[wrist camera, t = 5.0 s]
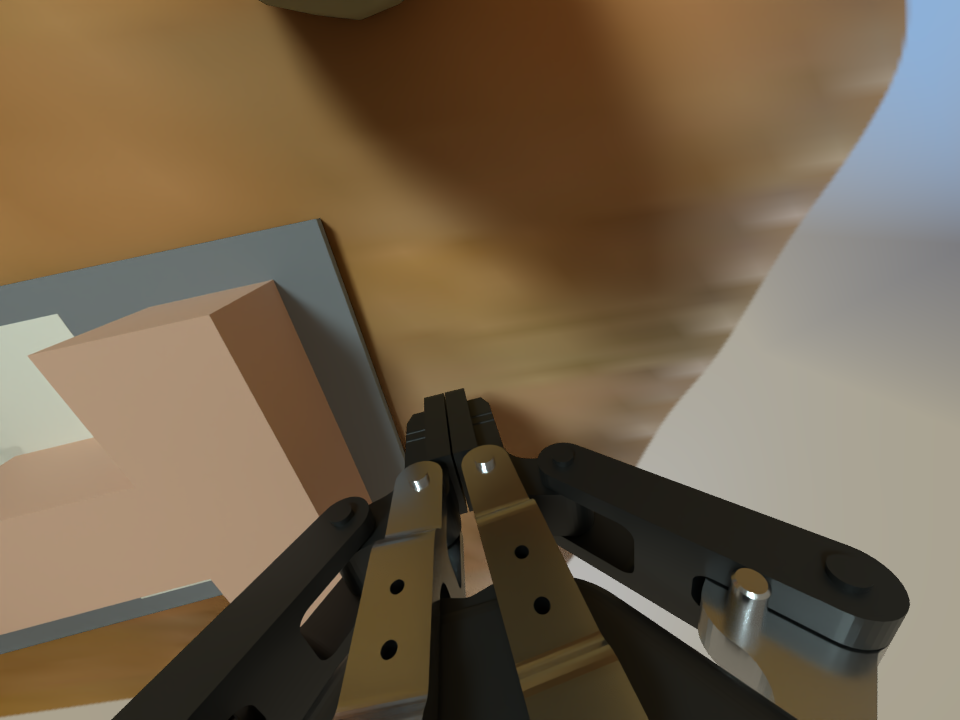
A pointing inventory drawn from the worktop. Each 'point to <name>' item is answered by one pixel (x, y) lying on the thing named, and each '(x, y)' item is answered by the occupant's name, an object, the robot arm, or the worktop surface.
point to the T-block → (171, 459)
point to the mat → (172, 277)
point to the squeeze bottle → (336, 7)
